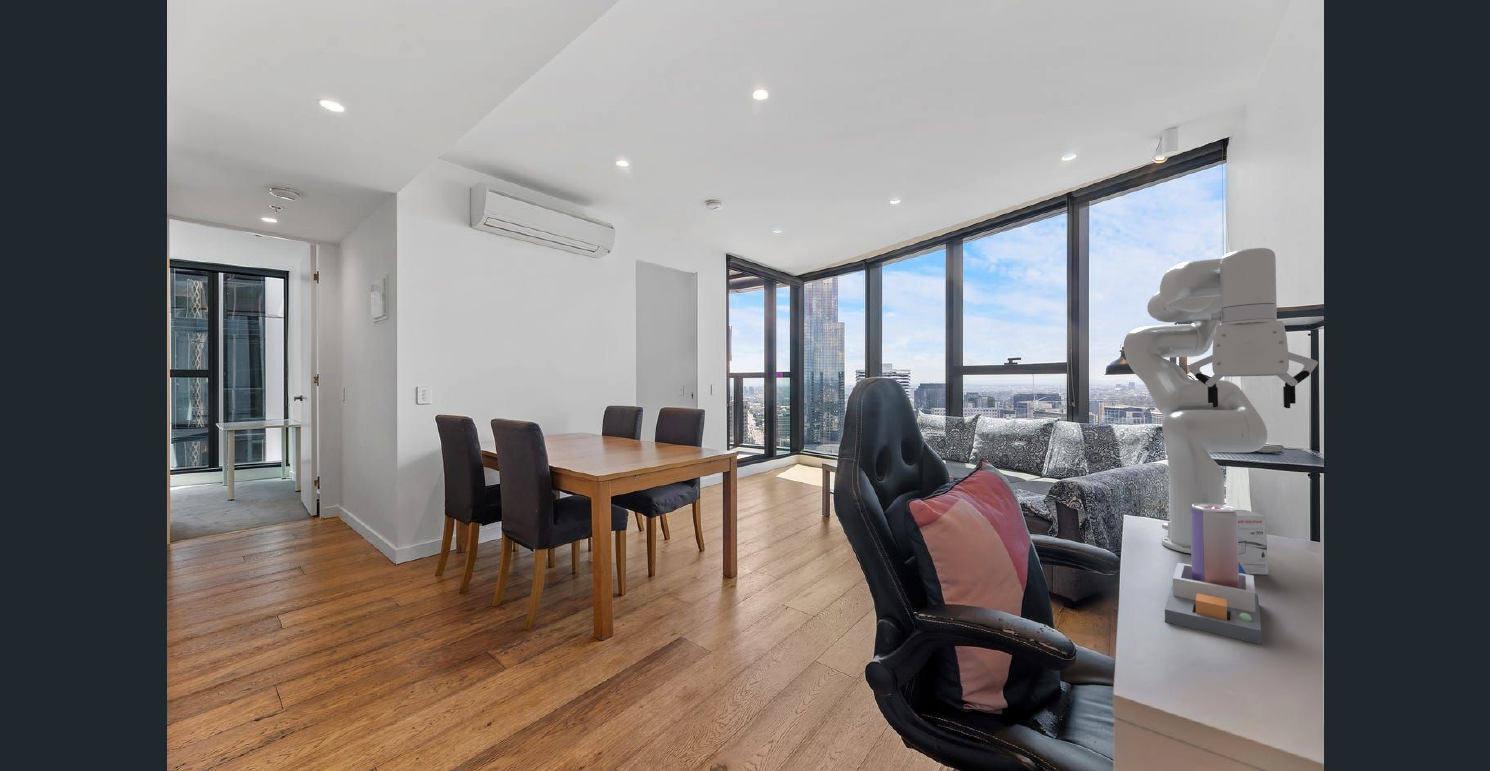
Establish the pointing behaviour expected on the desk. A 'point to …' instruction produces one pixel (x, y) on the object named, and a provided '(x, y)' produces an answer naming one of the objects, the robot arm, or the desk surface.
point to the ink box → (1252, 543)
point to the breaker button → (1211, 606)
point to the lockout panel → (1239, 601)
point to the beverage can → (1214, 544)
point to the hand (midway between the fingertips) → (1250, 407)
